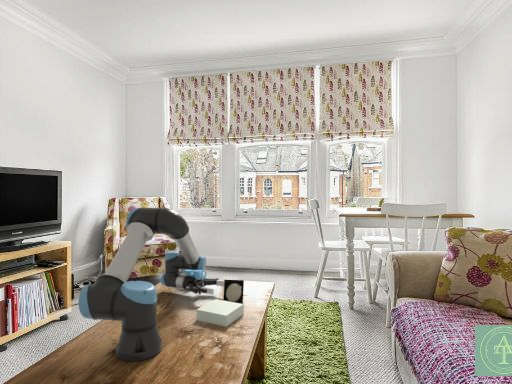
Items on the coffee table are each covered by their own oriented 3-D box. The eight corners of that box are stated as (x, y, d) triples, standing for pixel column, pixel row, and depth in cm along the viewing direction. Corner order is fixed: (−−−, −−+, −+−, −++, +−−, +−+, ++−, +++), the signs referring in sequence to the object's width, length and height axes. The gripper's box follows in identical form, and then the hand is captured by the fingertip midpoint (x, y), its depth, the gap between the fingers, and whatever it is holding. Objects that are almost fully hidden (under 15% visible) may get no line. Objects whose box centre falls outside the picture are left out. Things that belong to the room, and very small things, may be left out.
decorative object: (225, 304, 167) (244, 305, 166) (222, 306, 158) (241, 307, 157) (227, 279, 171) (245, 280, 170) (223, 279, 161) (243, 280, 160)
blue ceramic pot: (188, 291, 184) (189, 271, 184) (177, 283, 196) (178, 265, 195) (208, 287, 192) (209, 268, 192) (196, 280, 203) (197, 262, 203)
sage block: (226, 327, 136) (226, 315, 136) (196, 321, 143) (196, 309, 143) (243, 315, 150) (243, 304, 150) (215, 309, 156) (215, 299, 156)
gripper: (200, 283, 188) (232, 288, 179) (170, 296, 166) (206, 302, 156) (200, 270, 188) (232, 274, 179) (170, 281, 165) (206, 287, 156)
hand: (220, 287), depth 167 cm, fingers open, 13 cm apart
